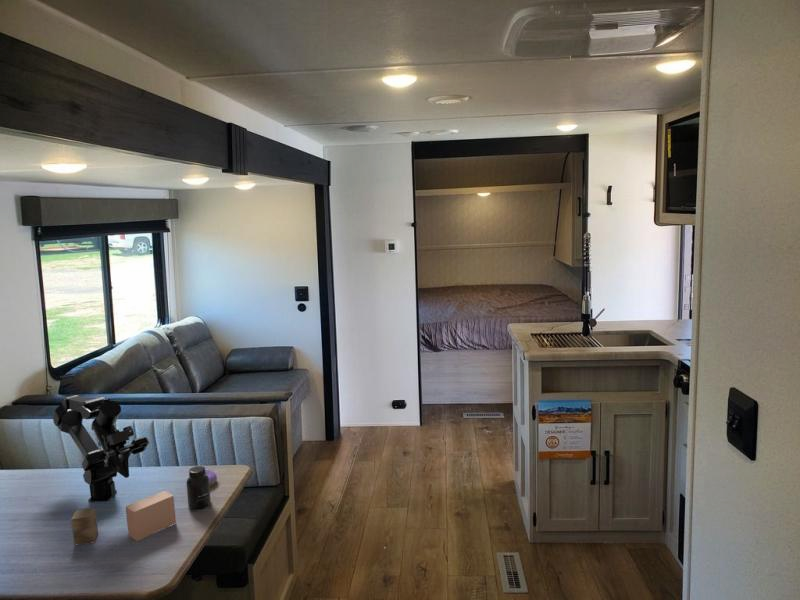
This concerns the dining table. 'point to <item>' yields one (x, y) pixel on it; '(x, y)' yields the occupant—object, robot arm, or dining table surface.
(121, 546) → the dining table surface
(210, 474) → the donut
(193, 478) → the supplement bottle
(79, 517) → the walnut block
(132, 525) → the terracotta block
